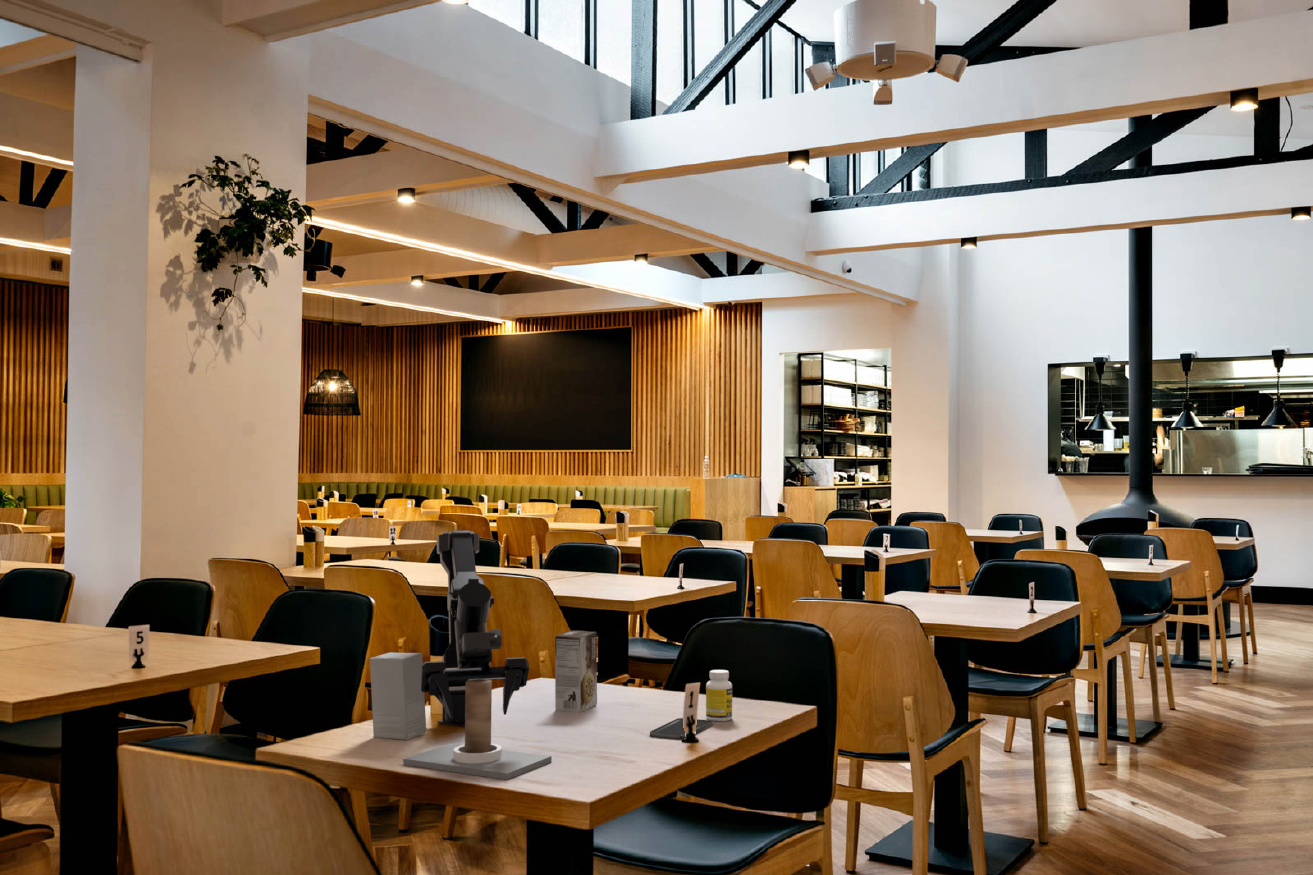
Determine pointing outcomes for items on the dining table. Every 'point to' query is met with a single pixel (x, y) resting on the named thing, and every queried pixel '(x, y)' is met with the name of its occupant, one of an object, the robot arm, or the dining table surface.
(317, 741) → the dining table surface
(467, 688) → the walnut pin
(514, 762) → the board
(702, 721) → the phone
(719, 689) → the supplement bottle
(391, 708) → the skincare box
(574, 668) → the coffee box
